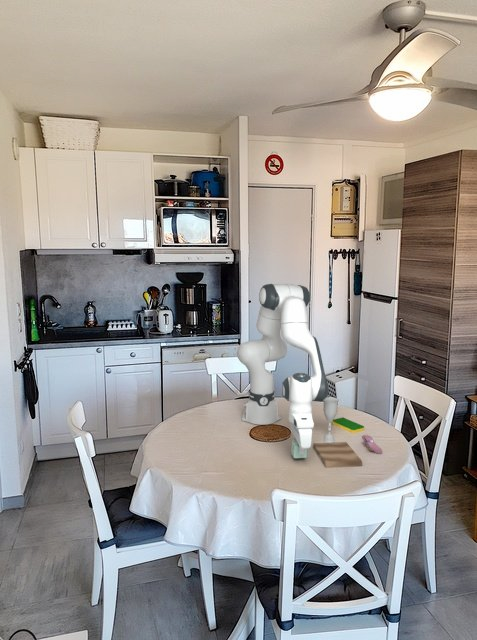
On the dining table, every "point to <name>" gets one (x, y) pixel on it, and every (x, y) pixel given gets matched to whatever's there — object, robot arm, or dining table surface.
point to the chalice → (330, 415)
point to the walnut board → (337, 454)
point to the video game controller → (371, 444)
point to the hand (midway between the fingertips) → (299, 449)
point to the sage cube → (295, 450)
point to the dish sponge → (348, 425)
